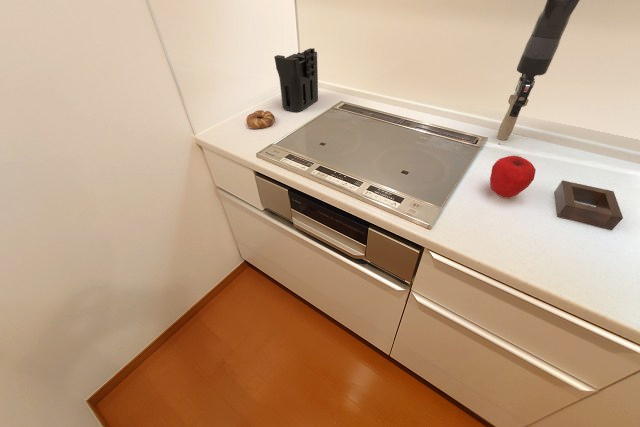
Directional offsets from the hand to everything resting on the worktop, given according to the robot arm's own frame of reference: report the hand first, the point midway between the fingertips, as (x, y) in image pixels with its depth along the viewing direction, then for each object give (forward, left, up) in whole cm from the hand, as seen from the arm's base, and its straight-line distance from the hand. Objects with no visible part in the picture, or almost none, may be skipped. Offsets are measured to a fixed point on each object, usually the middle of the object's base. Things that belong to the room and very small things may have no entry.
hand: (513, 111), depth 93 cm
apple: (-2, +30, -11) cm, 32 cm away
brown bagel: (+84, +22, -11) cm, 88 cm away
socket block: (-20, +29, -11) cm, 37 cm away
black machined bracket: (+78, -2, -11) cm, 79 cm away
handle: (0, 0, -11) cm, 11 cm away
